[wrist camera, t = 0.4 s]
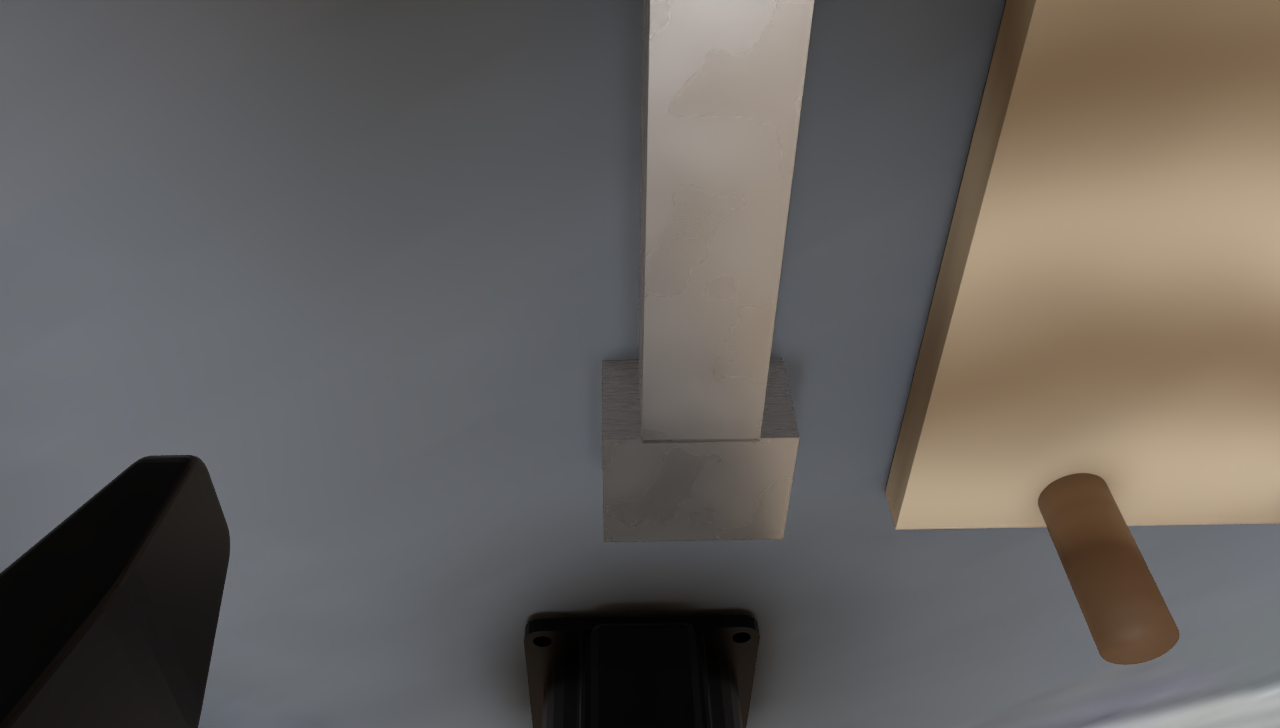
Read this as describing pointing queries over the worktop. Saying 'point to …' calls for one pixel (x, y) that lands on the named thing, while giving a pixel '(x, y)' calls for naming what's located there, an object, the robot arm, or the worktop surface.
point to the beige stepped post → (709, 278)
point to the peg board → (1109, 298)
